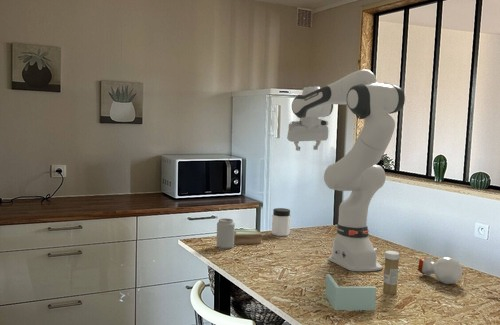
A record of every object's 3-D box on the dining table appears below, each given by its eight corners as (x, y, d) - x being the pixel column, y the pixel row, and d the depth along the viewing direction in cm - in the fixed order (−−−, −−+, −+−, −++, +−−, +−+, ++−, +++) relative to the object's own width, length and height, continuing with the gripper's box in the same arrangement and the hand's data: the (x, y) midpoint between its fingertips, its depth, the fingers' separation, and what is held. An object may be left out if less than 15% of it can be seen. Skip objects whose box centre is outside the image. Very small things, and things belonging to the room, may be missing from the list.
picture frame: (261, 243, 209) (261, 233, 208) (234, 244, 206) (235, 234, 206) (255, 237, 219) (256, 228, 218) (230, 238, 216) (230, 229, 215)
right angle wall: (375, 312, 138) (376, 287, 137) (335, 312, 137) (336, 287, 136) (362, 296, 150) (363, 274, 149) (325, 296, 149) (326, 273, 148)
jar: (287, 231, 232) (288, 208, 231) (291, 235, 224) (292, 211, 223) (270, 231, 231) (270, 208, 230) (273, 236, 223) (274, 211, 222)
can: (237, 246, 202) (238, 219, 201) (227, 250, 196) (228, 222, 195) (223, 243, 206) (223, 216, 205) (212, 247, 200) (213, 219, 199)
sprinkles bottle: (380, 289, 155) (382, 250, 154) (393, 289, 155) (396, 250, 154) (385, 295, 150) (388, 254, 149) (399, 294, 151) (402, 254, 150)
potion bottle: (458, 292, 159) (421, 284, 171) (472, 272, 163) (434, 265, 176) (448, 273, 156) (411, 265, 169) (461, 252, 160) (424, 247, 173)
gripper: (292, 122, 210) (290, 152, 214) (331, 121, 218) (328, 150, 221) (286, 120, 216) (284, 149, 219) (324, 119, 224) (321, 147, 227)
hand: (306, 150), depth 220 cm, fingers open, 8 cm apart
